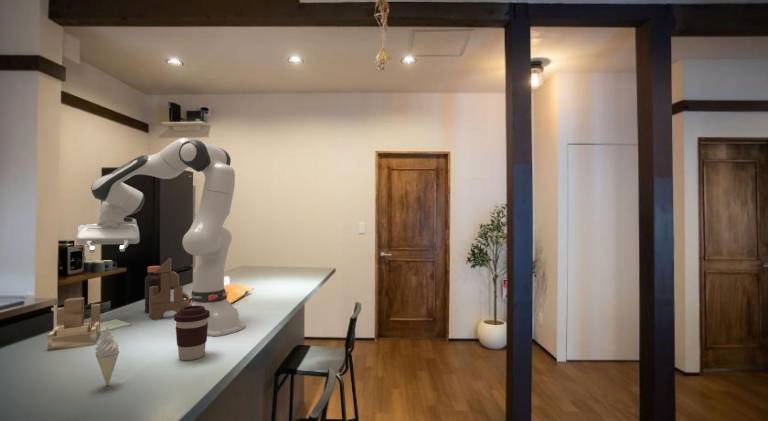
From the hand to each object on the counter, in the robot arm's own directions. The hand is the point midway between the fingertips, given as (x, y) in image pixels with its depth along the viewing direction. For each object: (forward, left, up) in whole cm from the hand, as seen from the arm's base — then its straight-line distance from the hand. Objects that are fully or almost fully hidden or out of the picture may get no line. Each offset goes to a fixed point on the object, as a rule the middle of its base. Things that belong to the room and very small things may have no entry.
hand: (107, 251), depth 146 cm
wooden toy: (-3, -22, -30) cm, 37 cm away
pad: (+3, -1, -30) cm, 30 cm away
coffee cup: (-54, 0, -30) cm, 62 cm away
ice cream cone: (-54, +23, -30) cm, 66 cm away
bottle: (+11, -23, -30) cm, 39 cm away
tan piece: (-8, +13, -30) cm, 33 cm away
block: (-10, +14, -24) cm, 29 cm away
